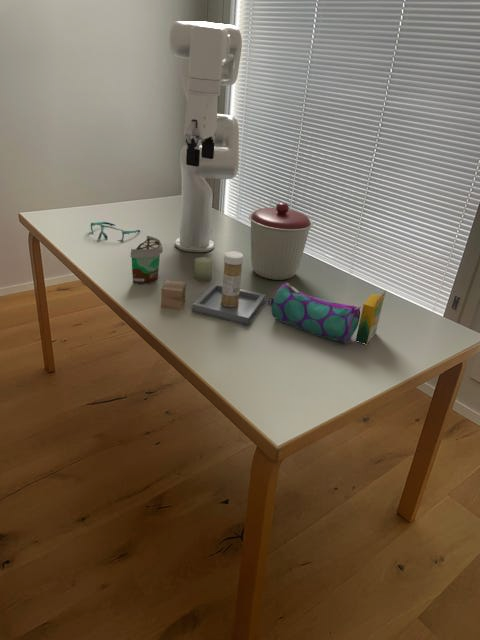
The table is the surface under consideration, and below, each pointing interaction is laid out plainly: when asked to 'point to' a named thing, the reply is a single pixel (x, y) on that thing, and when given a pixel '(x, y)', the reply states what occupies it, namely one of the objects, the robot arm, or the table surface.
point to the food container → (146, 261)
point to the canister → (278, 241)
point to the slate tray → (240, 314)
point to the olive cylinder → (203, 268)
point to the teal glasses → (110, 227)
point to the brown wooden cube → (173, 294)
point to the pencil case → (314, 314)
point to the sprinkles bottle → (231, 278)
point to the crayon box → (370, 318)
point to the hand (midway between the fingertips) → (200, 161)
